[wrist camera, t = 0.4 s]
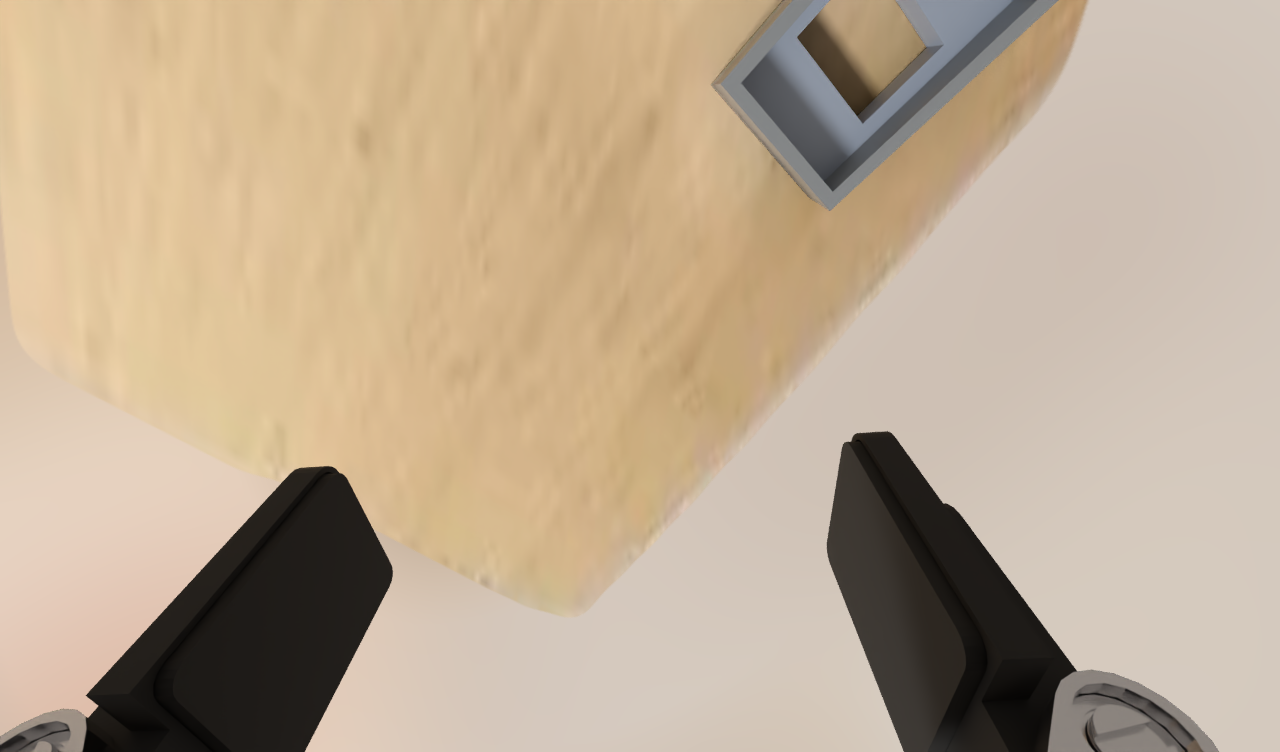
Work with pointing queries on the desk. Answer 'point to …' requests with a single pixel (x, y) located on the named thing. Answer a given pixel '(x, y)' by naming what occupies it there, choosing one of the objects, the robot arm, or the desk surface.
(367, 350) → the desk surface
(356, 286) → the desk surface
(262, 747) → the robot arm
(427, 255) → the desk surface
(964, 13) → the walled box
